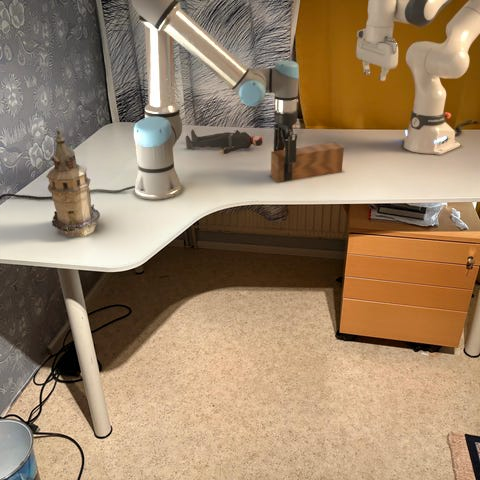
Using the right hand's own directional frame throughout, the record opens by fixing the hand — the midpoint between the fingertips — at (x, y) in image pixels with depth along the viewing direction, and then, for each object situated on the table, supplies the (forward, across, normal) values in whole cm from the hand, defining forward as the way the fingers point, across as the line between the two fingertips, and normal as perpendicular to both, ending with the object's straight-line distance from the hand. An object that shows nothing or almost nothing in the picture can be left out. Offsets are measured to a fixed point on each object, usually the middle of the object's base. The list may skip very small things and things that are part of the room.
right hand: (374, 77), depth 184 cm
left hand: (+30, -3, +34) cm, 46 cm away
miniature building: (+31, -15, +105) cm, 111 cm away
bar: (+31, -3, +26) cm, 40 cm away
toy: (+31, +34, +43) cm, 63 cm away
